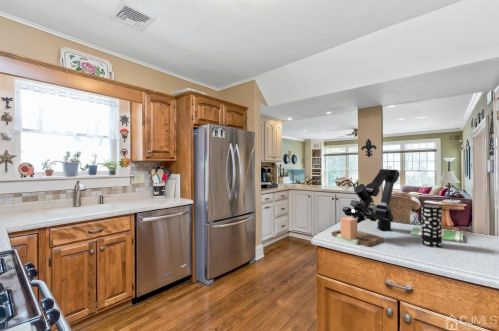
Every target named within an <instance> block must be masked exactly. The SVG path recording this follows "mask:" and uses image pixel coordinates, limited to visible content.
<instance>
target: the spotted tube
mask: <svg viewBox="0 0 499 331" xmlns="http://www.w3.org/2000/svg"><path fill="white" fill-rule="evenodd" d="M442 220H443V208H442V206H440V205H435V204H422V205H421V227H420V228H421V236H420V237H421V240H420V242H421V245H423V246H426V247H430V248H437V249H438V248H441V247H442V243H443V242H442V241H443V240H442V230H443V221H442Z"/></svg>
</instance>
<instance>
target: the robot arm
mask: <svg viewBox="0 0 499 331" xmlns="http://www.w3.org/2000/svg"><path fill="white" fill-rule="evenodd" d="M399 177H400V171H398V170H397V169H388V168H381V169H379V171H378V173H377V175H376V176H375V177H374V179H373V180H372V181H371V182H370V183H367V184H366V185H365V184H364V183H359V185H356V186H355V187H354V188H353V192H354V193H355V195H356V196H357V197H358V198H359V199H360V200H354V199H351V201H350V203H349V206H343V207H342V209H341V210H342V212H343V213H344V215H345V216H346V217H351V218H354V219H357V225H359V223H362V222H363V221H366V220H367V219H366V218H369V221H371V222H377V227H376V229H378V230H380V231H383V232H390V231H391V232H392V231H393V229H392V222H393V221H394V219H395V218H394V215H393V214H392V209H391V206H390V204H391V199H392V194H393V190H394V185H395V183H396V182H397V181H398V180H399ZM383 183H384V185H383V191H382V195H381V198H380V199H381V200H380V203H379V204H376V206H375V209H374V211H372V210H370V205H371V204H373V203H374V198H373V197H378V195H379V193H380V187H381V186H382V184H383ZM350 206H351V207H352V208H351V207H350Z"/></svg>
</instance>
